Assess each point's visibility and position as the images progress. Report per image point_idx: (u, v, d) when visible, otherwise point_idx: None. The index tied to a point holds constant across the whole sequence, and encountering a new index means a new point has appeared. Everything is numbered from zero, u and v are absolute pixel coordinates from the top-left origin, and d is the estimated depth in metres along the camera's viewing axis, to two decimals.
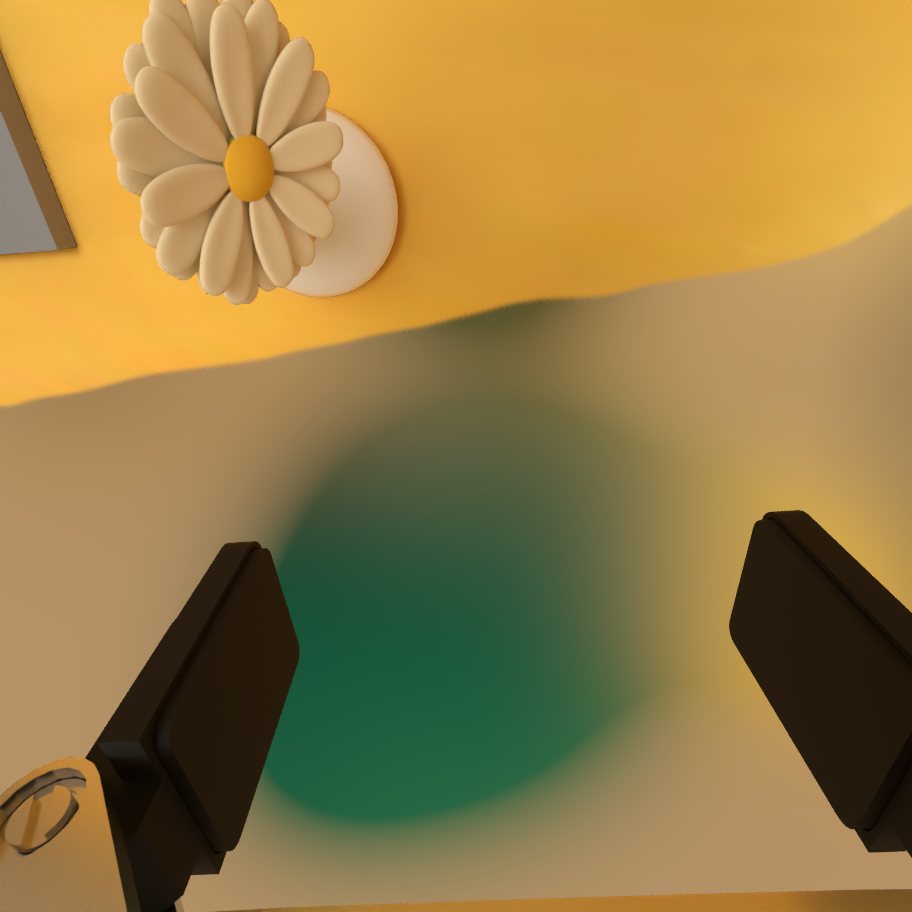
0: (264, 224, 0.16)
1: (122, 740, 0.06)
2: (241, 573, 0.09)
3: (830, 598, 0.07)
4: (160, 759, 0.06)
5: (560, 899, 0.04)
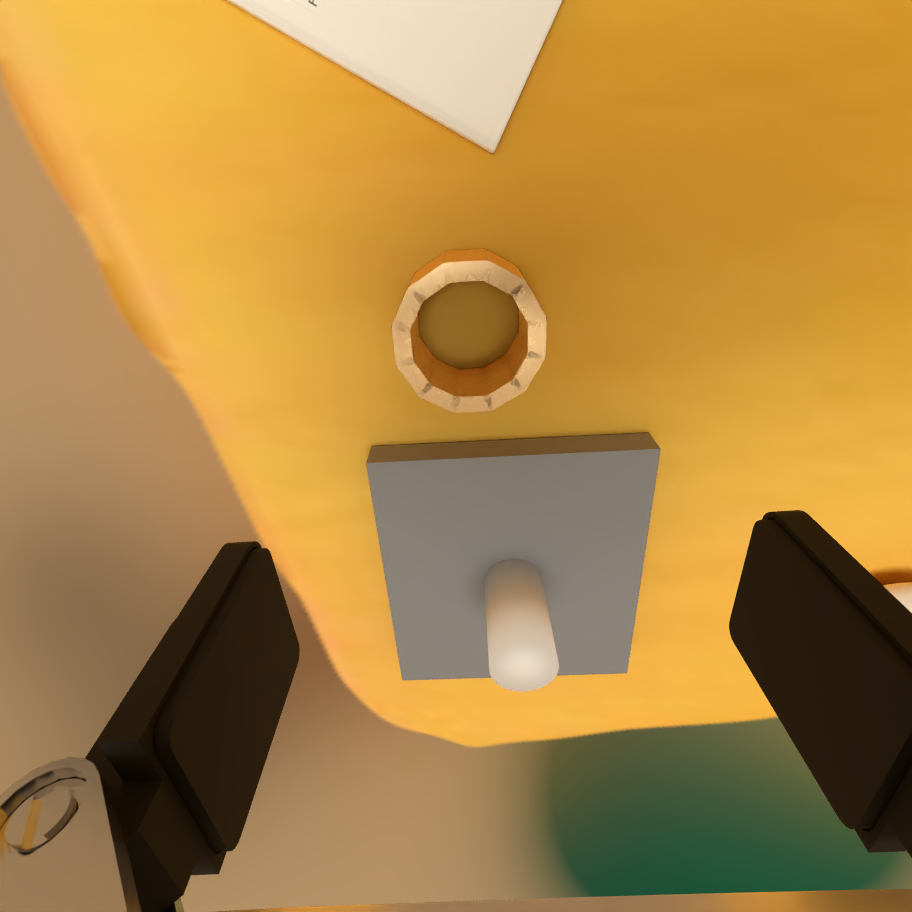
0: None
1: (122, 740, 0.06)
2: (241, 573, 0.09)
3: (830, 598, 0.07)
4: (160, 759, 0.06)
5: (560, 899, 0.04)
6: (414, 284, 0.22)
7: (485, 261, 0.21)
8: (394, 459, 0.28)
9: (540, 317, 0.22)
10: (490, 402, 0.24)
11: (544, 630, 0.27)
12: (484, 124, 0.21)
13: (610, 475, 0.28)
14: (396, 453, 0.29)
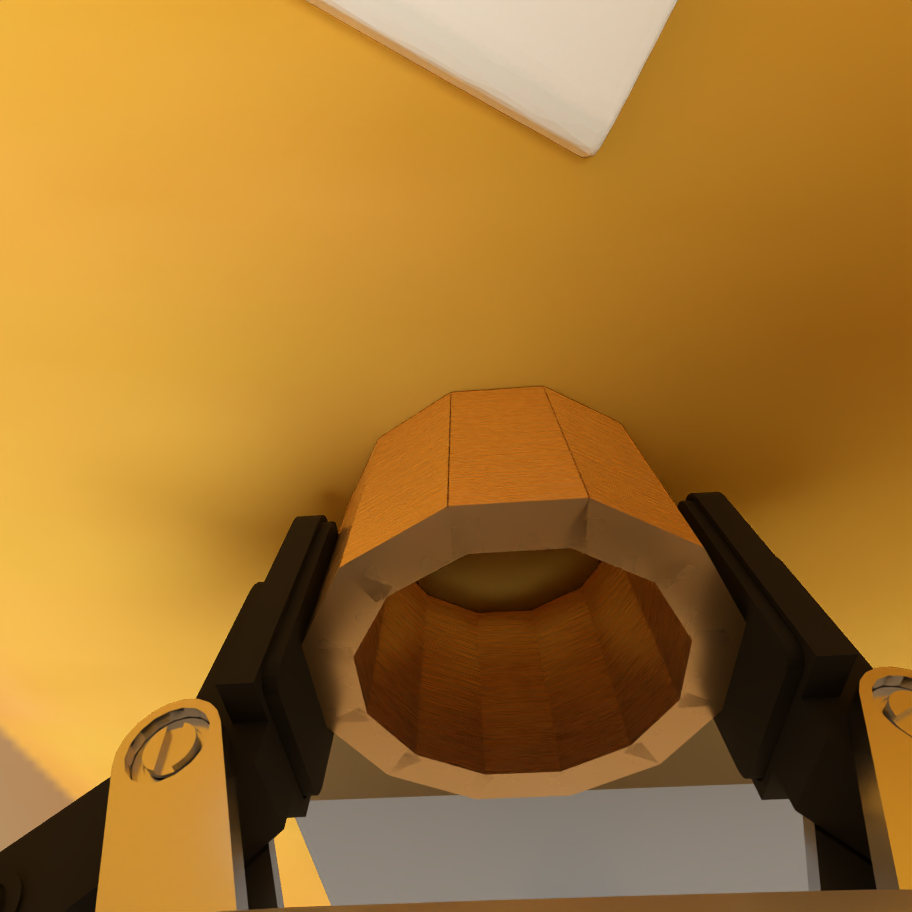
0: None
1: (237, 683, 0.07)
2: (316, 543, 0.09)
3: (729, 568, 0.08)
4: (267, 702, 0.07)
5: (560, 899, 0.04)
6: (358, 559, 0.07)
7: (582, 501, 0.07)
8: (348, 788, 0.14)
9: (731, 628, 0.08)
10: (568, 781, 0.10)
11: None
12: (574, 68, 0.07)
13: (794, 814, 0.14)
14: (354, 760, 0.14)
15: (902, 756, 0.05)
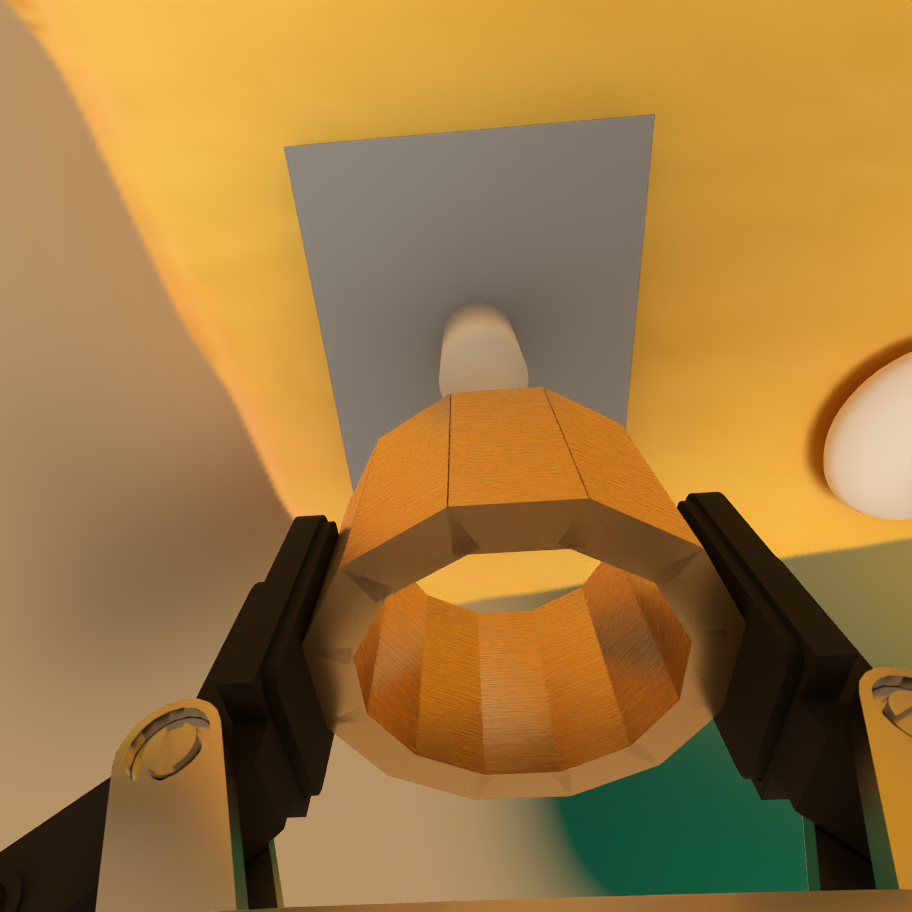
0: None
1: (237, 682, 0.07)
2: (316, 543, 0.09)
3: (729, 568, 0.08)
4: (268, 702, 0.07)
5: (560, 899, 0.04)
6: (358, 559, 0.07)
7: (582, 501, 0.07)
8: None
9: (731, 629, 0.08)
10: (568, 781, 0.10)
11: (510, 337, 0.21)
12: None
13: (592, 160, 0.22)
14: None
15: (902, 756, 0.05)
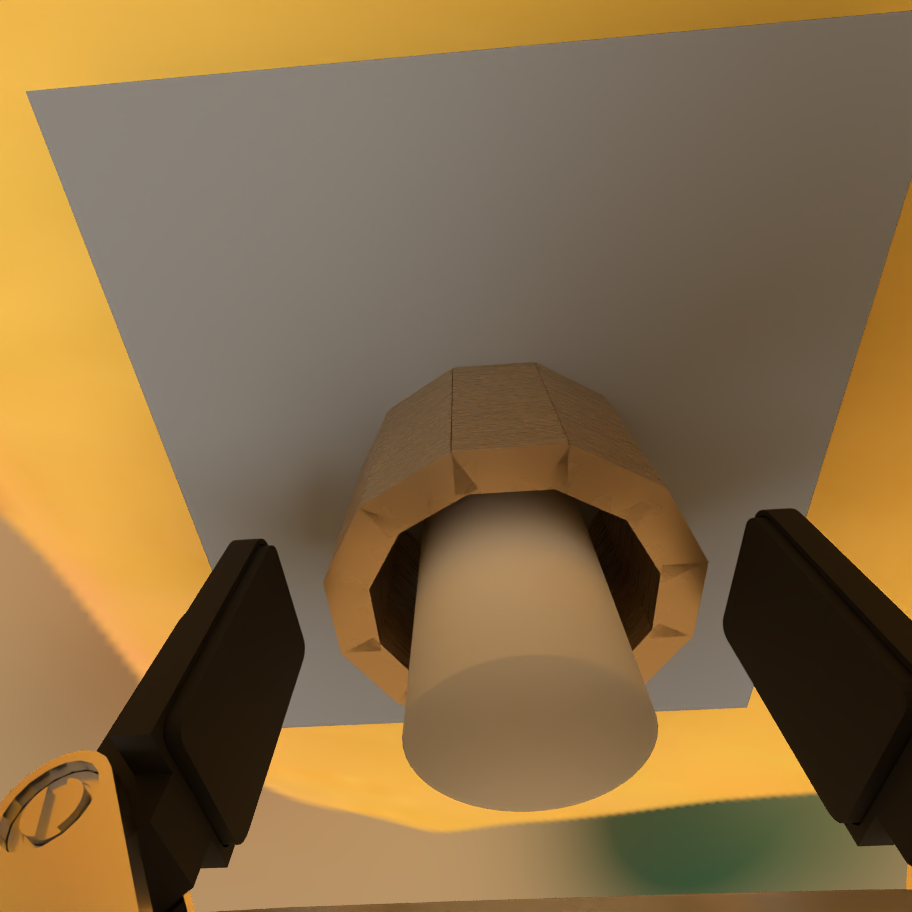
0: None
1: (134, 733, 0.06)
2: (248, 570, 0.09)
3: (820, 594, 0.07)
4: (171, 752, 0.06)
5: (560, 899, 0.04)
6: (375, 499, 0.08)
7: (564, 447, 0.08)
8: None
9: (693, 563, 0.09)
10: None
11: (599, 604, 0.08)
12: None
13: (785, 128, 0.09)
14: None
15: None
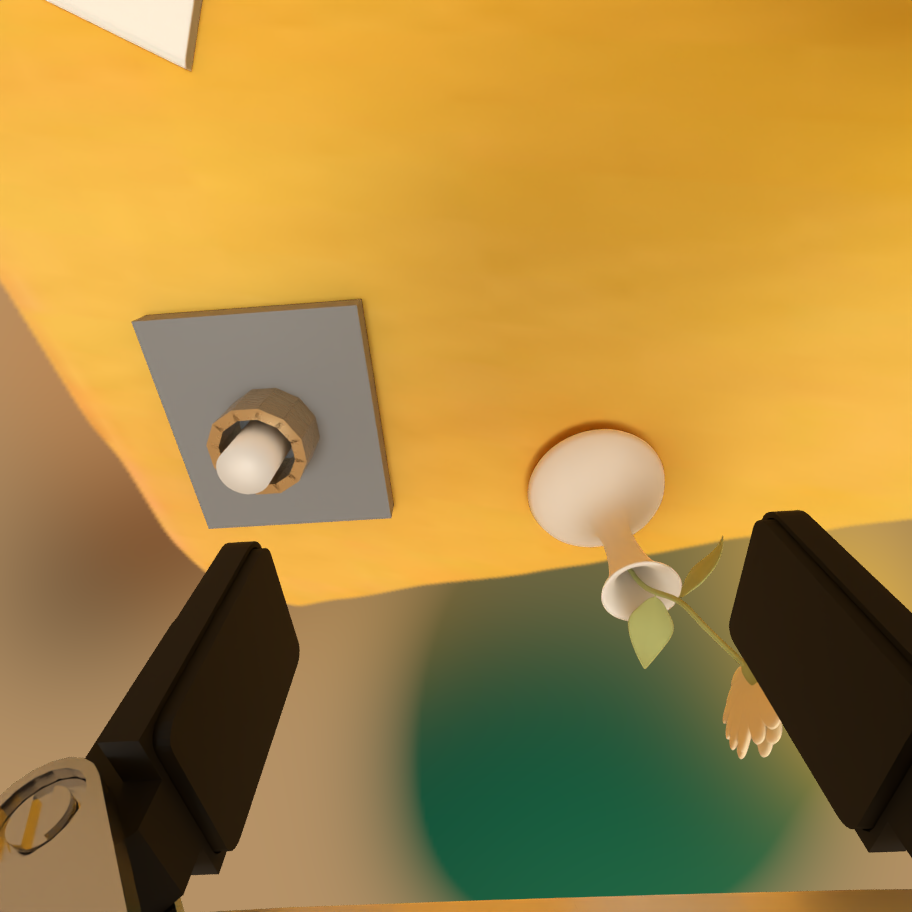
0: None
1: (122, 740, 0.06)
2: (241, 573, 0.09)
3: (830, 598, 0.07)
4: (160, 759, 0.06)
5: (560, 899, 0.04)
6: (215, 422, 0.35)
7: (256, 409, 0.35)
8: (155, 319, 0.36)
9: (297, 439, 0.36)
10: (278, 487, 0.38)
11: (262, 444, 0.34)
12: (171, 46, 0.29)
13: (324, 329, 0.36)
14: (160, 316, 0.37)
15: None
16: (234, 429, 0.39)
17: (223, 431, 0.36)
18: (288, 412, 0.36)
